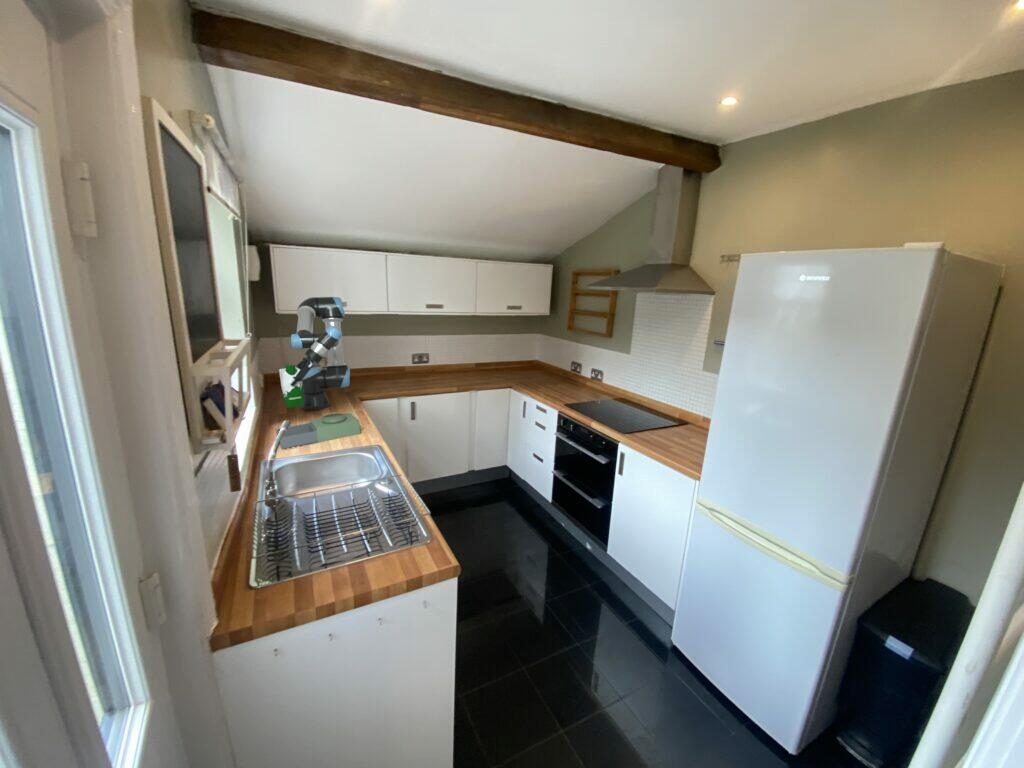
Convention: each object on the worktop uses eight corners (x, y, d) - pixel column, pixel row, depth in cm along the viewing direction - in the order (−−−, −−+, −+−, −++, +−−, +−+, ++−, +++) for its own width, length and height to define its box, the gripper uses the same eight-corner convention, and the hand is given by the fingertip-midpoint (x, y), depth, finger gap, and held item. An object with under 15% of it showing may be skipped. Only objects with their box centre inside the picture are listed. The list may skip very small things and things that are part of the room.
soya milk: (287, 408, 192) (281, 368, 187) (282, 404, 199) (276, 364, 194) (306, 405, 198) (301, 365, 193) (301, 400, 205) (296, 362, 199)
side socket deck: (351, 425, 208) (349, 409, 206) (360, 433, 197) (358, 417, 195) (277, 440, 189) (274, 422, 187) (282, 450, 177) (279, 431, 175)
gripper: (328, 360, 193) (295, 398, 188) (318, 353, 210) (287, 388, 205) (314, 350, 189) (281, 388, 184) (305, 344, 206) (274, 379, 201)
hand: (284, 388), depth 194 cm, fingers closed on soya milk, 9 cm apart
